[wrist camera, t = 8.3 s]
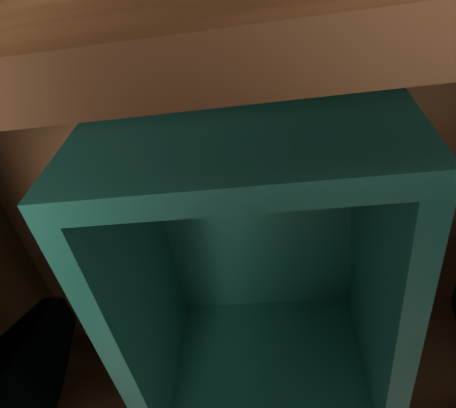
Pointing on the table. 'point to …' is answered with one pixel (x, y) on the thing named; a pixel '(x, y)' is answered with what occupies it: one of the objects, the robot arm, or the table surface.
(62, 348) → the robot arm
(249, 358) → the teal crate
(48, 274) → the box
